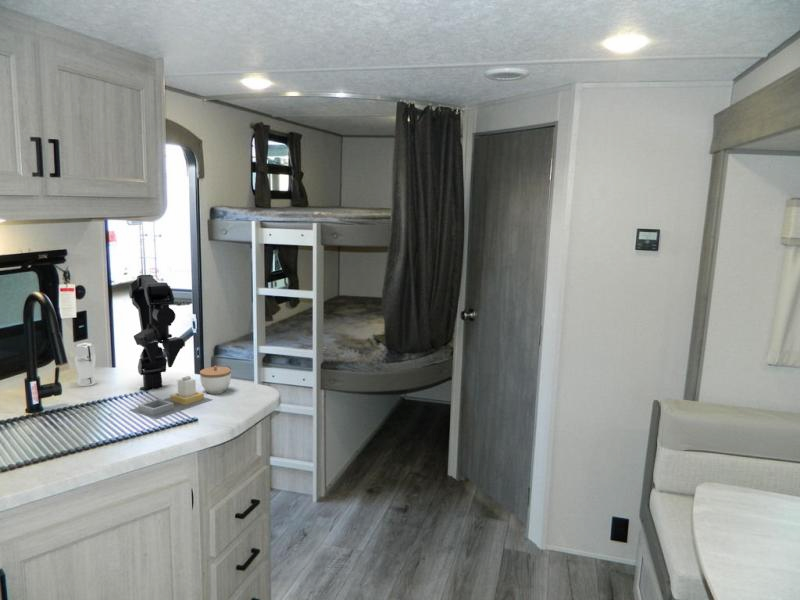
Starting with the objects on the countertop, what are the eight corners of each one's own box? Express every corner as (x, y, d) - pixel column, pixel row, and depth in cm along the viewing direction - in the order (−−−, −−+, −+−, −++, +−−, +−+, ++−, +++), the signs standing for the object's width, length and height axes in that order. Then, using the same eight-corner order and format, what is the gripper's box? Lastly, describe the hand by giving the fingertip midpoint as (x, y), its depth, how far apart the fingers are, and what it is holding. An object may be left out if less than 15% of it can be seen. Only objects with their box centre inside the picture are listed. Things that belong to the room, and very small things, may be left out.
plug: (178, 400, 192) (177, 377, 191) (188, 397, 196) (187, 374, 195) (186, 402, 190) (185, 379, 189) (196, 399, 194) (195, 376, 193)
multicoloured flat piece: (129, 413, 182) (128, 404, 182) (186, 395, 201) (186, 386, 201) (156, 422, 175) (156, 412, 175) (213, 402, 194) (213, 394, 193)
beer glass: (81, 381, 215) (78, 342, 213) (100, 380, 216) (98, 342, 213) (72, 386, 208) (69, 347, 206) (92, 386, 209) (90, 346, 206)
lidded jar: (212, 397, 199) (211, 372, 197) (194, 391, 205) (193, 366, 204) (237, 390, 207) (236, 365, 206) (219, 384, 213) (219, 360, 212)
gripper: (120, 320, 189) (122, 366, 191) (155, 327, 179) (157, 375, 182) (149, 315, 198) (152, 359, 201) (185, 321, 189) (187, 367, 191)
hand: (161, 365), depth 193 cm, fingers open, 9 cm apart
